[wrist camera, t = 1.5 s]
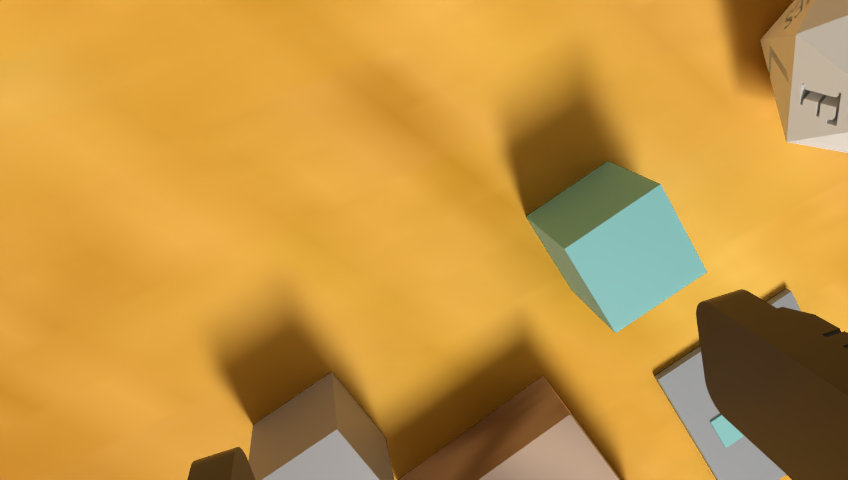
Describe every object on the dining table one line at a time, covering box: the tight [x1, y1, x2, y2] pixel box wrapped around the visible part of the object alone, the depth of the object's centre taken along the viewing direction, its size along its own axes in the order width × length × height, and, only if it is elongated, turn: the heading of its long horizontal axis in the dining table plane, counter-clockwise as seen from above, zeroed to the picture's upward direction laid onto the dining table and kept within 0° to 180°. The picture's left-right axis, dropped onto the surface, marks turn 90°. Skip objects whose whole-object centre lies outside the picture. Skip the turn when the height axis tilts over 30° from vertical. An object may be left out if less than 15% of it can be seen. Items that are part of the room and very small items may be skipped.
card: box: [654, 289, 801, 480], centre depth 37 cm, size 8×10×1 cm
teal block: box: [526, 161, 707, 333], centre depth 30 cm, size 4×4×5 cm
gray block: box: [249, 372, 394, 480], centre depth 31 cm, size 4×4×5 cm
